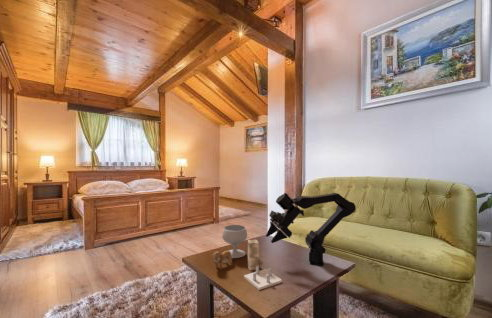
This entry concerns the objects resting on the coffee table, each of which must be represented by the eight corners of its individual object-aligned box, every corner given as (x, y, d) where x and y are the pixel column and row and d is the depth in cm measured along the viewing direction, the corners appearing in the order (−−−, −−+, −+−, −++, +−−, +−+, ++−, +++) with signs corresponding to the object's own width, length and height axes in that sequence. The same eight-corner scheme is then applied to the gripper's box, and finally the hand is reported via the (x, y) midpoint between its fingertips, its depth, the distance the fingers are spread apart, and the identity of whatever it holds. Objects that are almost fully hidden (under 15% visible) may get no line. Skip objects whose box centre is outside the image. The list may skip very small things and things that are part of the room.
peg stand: (265, 271, 112) (265, 262, 112) (281, 282, 101) (281, 273, 101) (244, 277, 106) (244, 268, 106) (258, 290, 95) (258, 280, 95)
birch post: (256, 265, 118) (256, 239, 118) (258, 269, 113) (258, 242, 113) (247, 266, 117) (247, 240, 117) (249, 270, 112) (249, 243, 112)
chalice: (247, 259, 124) (247, 231, 124) (220, 259, 125) (220, 231, 125) (247, 249, 138) (247, 224, 138) (223, 249, 139) (223, 224, 139)
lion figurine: (218, 273, 110) (218, 254, 110) (209, 270, 112) (209, 252, 112) (235, 261, 122) (235, 244, 123) (226, 259, 125) (226, 242, 125)
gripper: (273, 201, 127) (253, 223, 125) (285, 209, 108) (262, 234, 106) (287, 215, 128) (268, 237, 126) (301, 225, 110) (279, 250, 108)
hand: (268, 239), depth 117 cm, fingers open, 9 cm apart
